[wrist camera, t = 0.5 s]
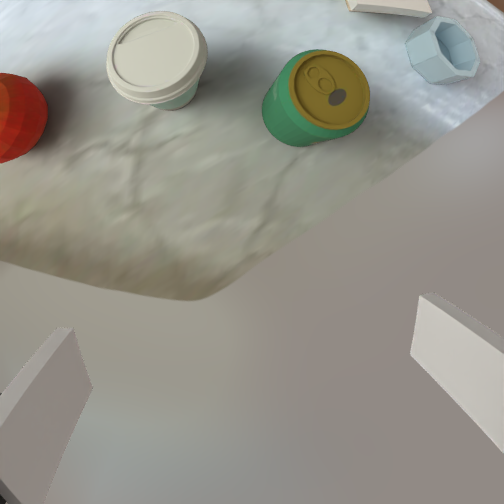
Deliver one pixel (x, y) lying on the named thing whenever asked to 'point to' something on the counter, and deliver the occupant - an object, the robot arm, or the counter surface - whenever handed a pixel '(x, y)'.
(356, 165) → the counter surface
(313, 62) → the beverage can
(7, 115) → the apple
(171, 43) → the coffee cup
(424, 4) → the ceramic tile
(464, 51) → the bowl
